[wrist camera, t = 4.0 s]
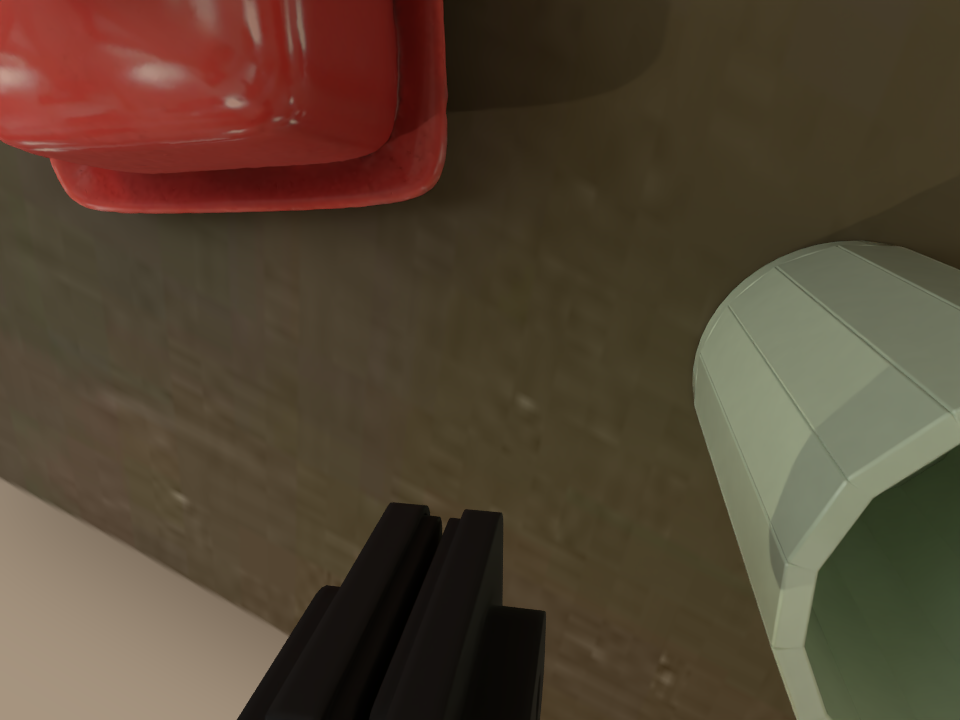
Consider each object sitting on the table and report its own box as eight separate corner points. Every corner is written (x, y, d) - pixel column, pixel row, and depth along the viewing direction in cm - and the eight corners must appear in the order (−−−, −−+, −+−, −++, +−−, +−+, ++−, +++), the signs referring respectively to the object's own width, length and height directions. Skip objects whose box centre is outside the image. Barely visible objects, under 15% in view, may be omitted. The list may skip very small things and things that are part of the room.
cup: (680, 484, 20) (746, 798, 11) (706, 236, 18) (819, 361, 8) (952, 506, 19) (1293, 881, 9) (1019, 243, 16) (1563, 398, 7)
